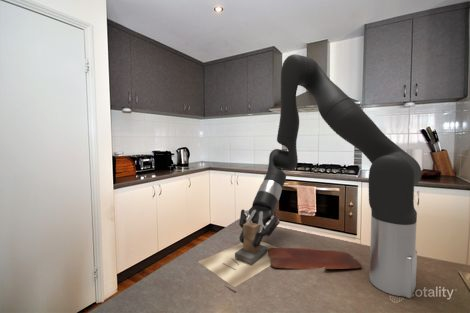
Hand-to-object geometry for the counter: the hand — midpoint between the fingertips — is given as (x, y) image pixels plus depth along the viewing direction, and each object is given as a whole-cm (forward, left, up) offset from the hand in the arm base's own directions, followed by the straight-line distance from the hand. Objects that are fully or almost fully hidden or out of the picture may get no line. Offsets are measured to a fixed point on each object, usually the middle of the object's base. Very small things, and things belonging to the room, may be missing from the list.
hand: (248, 244), depth 68 cm
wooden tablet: (-14, -14, -5) cm, 20 cm away
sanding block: (0, -2, -4) cm, 4 cm away
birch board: (+1, 0, -6) cm, 6 cm away
